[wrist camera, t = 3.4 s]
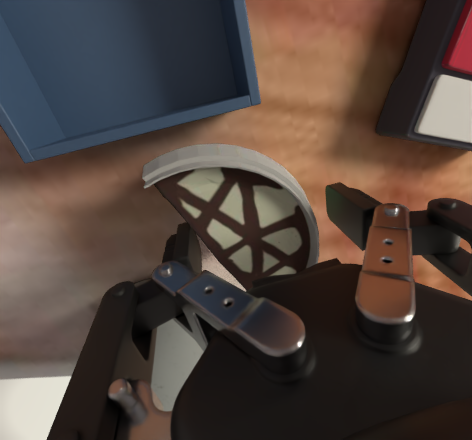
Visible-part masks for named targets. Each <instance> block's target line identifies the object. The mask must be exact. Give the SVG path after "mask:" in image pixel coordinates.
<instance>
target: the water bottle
mask: <svg viewBox="0 0 472 440" xmlns="http://www.w3.org/2000/svg"><path fill="white" fill-rule="evenodd" d="M149 280H151V279H148V280H144V281H141V282H138V283H135V284H134V285H135V287H137V286H139V285H141V284H143V283H145V282H147V281H149ZM202 354H203V350H202V349H201V348H200V346H199V345H198V343H197V342H196V341H195V340H194V339H193V338H192V337H191V336H190V335H189V334H188V333H187V332H186V331H185V330H184V329H183V328H182V327H180V326H179V325H178V324H177V323H176V322H175V321H174V320H173V319H171V320H169V321H168V322H166V323H164V324H162V325H160V326H158V327H157V336H156V345H155V355H154V364H153V373H152V383H151V387H152V389H153V390H154V392H155V393H156V394H157V396H158V397H159V399H160V400H161V402H162V404H163V410H164V411H172V409H173V406H174V403H175V400H176V397H177V395H178V393H179V391H180V389H181V388H182V386H183V384H184V383H185V381H186V379H187V378H188V376H189V375H190V373H191V371H192V370H193V368H194V366H195V365H196V363H197V362H198V360H199V358H200V357H201V355H202Z"/></svg>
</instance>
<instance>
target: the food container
mask: <svg viewBox="0 0 472 440" xmlns="http://www.w3.org/2000/svg"><path fill="white" fill-rule="evenodd" d="M142 178H143V180H144V181H145V182H146V183H145V185H144V188H147V187H149V186H151V185H152V184H154V185H155V187H156V188H157V189H158V190H159V191H160V193H161V194H162V196H163V197H164V198H166V199H167V200H168V201H169V202H170V203H171V204H172V205H173V206H174V207H175V209H176V210H177V211H178V212H179V213H180V214H181V216H182V217H183V218H184V219H185V220H186V222H187V223H188V224H189V225H190V226H191V227H192V229H193V230H194V231H195V232H196V233H197V235H198V236H199V237H200V238H201V240H202V241H203V242H204V243H205V245H206V246H207V247H208V248H209V250H210V251H211V252H212V253H213V255H214V256H215V257H216V258H217V260H218V261H219V262H220V263H221V264H222V265H223V266H224V267H225V268H226V269H227V270H228V271H229V272H230V273H231V274H232V275H233V276H234V277H235V278H236V280H237V281H238V282H239V283H240V284H241V285H242V286H243V287H244V288H245V289H246V290H249V289H251V288H253V286H252V282H251V281H254V280H258V279H261V278H265V277H269V276H273V275H285V274H295V273H298V272H300V271H302V270H304V269H306V268H308V267H310V266H313V265H315V264H317V263H318V257H319V232H318V227H317V222H316V218H315V216H314V213H313V211H312V209H311V206H310V204H309V202H308V199H307V197H306V195H305V192H304V191H303V189H302V188H301V186H300V185H299V183H298V182H297V180H296V179H295V178H294V177H293V176H292V175H291V174H290V173H289V172H288V171H287V170H286V169H285V168H284V167H283V166H281V165H280V164H278V163H277V162H275V161H274V160H273V159H271V158H269V157H267V156H265V155H263V154H261V153H259V152H256V151H254V150H251V149H247V148H243V147H240V146H236V145H227V144H217V143H216V144H198V145H193V146H188V147H184V148H179V149H176V150H173V151H171V152H168V153H166V154H163V155H161V156H158V157H157V158H155V159H153V160H152V161H150V162H148V163H147V164H145V165H144V167H143V176H142Z"/></svg>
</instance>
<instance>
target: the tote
mask: <svg viewBox="0 0 472 440" xmlns="http://www.w3.org/2000/svg"><path fill="white" fill-rule="evenodd" d="M258 104H261V99H260V93H259V86H258V80H257V74H256V67H255V61H254V55H253V48H252V42H251V36H250V29H249V23H248V17H247V10H246V4H245V0H0V125H1V127H2V128H3V130H4V131H5V133H6V134H7V136H8V138H9V139H10V141H11V142H12V144H13V146H14V147H15V149H16V150H17V152H18V153H19V155H20V157H21V158H22V160H23V161H24V163H30V162H34V161H38V160H42V159H46V158H50V157H54V156H58V155H61V154H65V153H69V152H73V151H77V150H81V149H85V148H89V147H93V146H97V145H101V144H105V143H109V142H113V141H117V140H120V139H124V138H128V137H132V136H136V135H140V134H144V133H148V132H152V131H156V130H160V129H164V128H168V127H172V126H176V125H179V124H183V123H187V122H191V121H195V120H199V119H203V118H207V117H211V116H215V115H219V114H223V113H227V112H231V111H234V110H238V109H242V108H246V107H250V106H254V105H258Z"/></svg>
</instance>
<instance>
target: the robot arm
mask: <svg viewBox="0 0 472 440" xmlns="http://www.w3.org/2000/svg"><path fill="white" fill-rule="evenodd" d="M326 207H327V214H328V217H329V219H330V220H331V221H332V222H333V223H334V224H335V225H336V226H337V227H338V228H339V229H340V230H341V231H342V232H343V233H345V234H346V235H347V236H348V237H349V238H350V239H351V240H352V241H353V242H354V243H355V244H356V245H357V246H358V247H359V248H360V249H361V250H362V251H363V250H365V255H364V260H363V265H358V264H341V263H340V261H339V260H338V259H337V258H336V259H332V260H328V261H325V262H321V263H317V264H315V265H313V266H310V267H308V268H306V269H304V270H302V271H300V272H298V273H295V274H285V275H273V276H269V277H265V278H261V279H258V280H254V281H251V282H252V286H253V288H251V289H249V290H247V291H246V292H245V291H243V290H241V289H239V288H238V287H236V286H234V285H232V284H231V283H229V282H227V281H225V280H223V279H222V278H220V277H218V276H216V275H214V274H213V273H211V272H209V271H207V270H203V271H202V254H201V248H200V244H199V242H198V239H197V236H196V233H195V231H194V230H193V229H192V227H191V226H190V225H189V224H188V223H183V224H179V225H178V228H177V234H173V235H171V236H170V237H169V239H168V240H167V242H166V247H165V252H164V255H163V260H162V264H161V265H159V266H158V267H156V268H155V269H154V271H153V272H152V279H151V280H149V281H147V282H145V283H143V284H141V285H139V286H137V287H135V285H134V283H133V282H130V281H126V282H121V283H119V284H117V285H115V286H113V287H112V288H110V289H109V290H108V291H107V292H106V293H105V295H104V296H103V298H102V301H101V303H100V306H99V308H98V311H97V314H96V316H95V319H94V321H93V324H92V326H91V329H90V331H89V334H88V336H87V339H86V341H85V344H84V346H83V349H82V351H81V354H80V356H79V359H78V361H77V364H76V367H75V369H74V372H73V374H72V377H71V379H70V382H69V385H68V387H67V389H66V392H65V394H64V397H63V400H62V402H61V404H60V407H59V410H58V412H57V415H56V417H55V420H54V422H53V425H52V427H51V430H50V432H49V435H48V437H47V440H472V301H471V300H468V299H465V298H462V297H459V296H456V295H453V294H449V293H446V292H443V291H440V290H437V289H434V288H431V287H428V286H425V285H422V284H419V283H416V282H415V281H414V279H413V258H412V255H422V256H423V257H424V258H425V259H426V260H427V261H429V262H430V263H431V264H432V265H433V266H435V267H436V268H437V269H438V270H440V271H441V272H442V273H443V274H445V275H446V276H447V277H448V278H450V279H451V280H452V281H453V282H454V283H456V284H457V285H458V286H459V287H461V288H462V289H463V290H464V291H466V292H467V293H468V294H469V295H471V296H472V254H470V253H469V252H467V251H466V250H464V249H462V248H461V247H459V244H460V239H461V238H463V239H464V240H466V241H467V242H468V243H469V244H470V246H471V248H472V205H469V204H467V203H465V202H463V201H460V200H457V199H451V198H439V199H434V200H431V201H430V202H429V203H428V206H427V210H423V211H410V212H409V209H408V208H407V207H406V206H404V205H401V204H395V203H386V204H382V203H380V202H379V201H377V200H375V199H374V198H372V197H370V196H369V195H367V194H365V193H364V192H362V191H360V190H358V189H354V188H349V187H347V186H345V185H344V184H342V183H340V182H339V183H335V184H331V185H327V186H326ZM171 319H173V320H174V321H175V322H176V323H177V324H178V325H179V326H180V327H182V328H183V329H184V330H185V331H186V332H187V333H188V334H189V335H190V336H191V337H192V338H193V339H194V340H195V341H196V342H197V343H198V345H199V346H200V348H201V349H202V350H203V354H202V355H201V357H200V358H199V360H198V362H197V363H196V365H195V366H194V368H193V370H192V371H191V373H190V375H189V376H188V378H187V379H186V381H185V383H184V384H183V386H182V388H181V389H180V391H179V393H178V395H177V397H176V400H175V403H174V406H173V409H172V411H164V410H163V404H162V402H161V400H160V399H159V397H158V396H157V394H156V393H155V392H154V390H153V389H152V387H151V383H152V373H153V364H154V355H155V345H156V336H157V327H158V326H160V325H162V324H164V323H166V322H168V321H169V320H171Z"/></svg>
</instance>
